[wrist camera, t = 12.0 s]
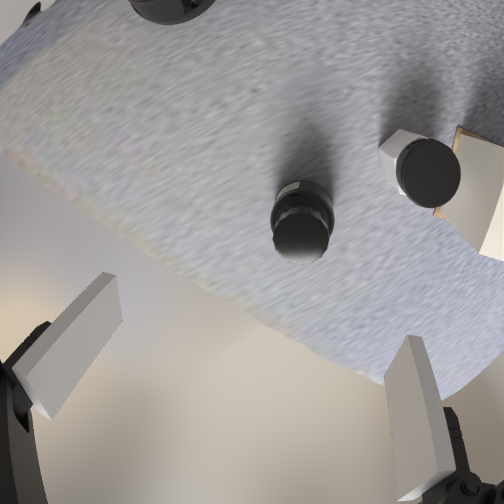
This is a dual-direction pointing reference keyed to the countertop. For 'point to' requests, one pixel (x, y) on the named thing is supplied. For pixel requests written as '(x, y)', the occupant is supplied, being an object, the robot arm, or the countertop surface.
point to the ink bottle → (302, 222)
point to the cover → (479, 196)
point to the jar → (420, 168)
